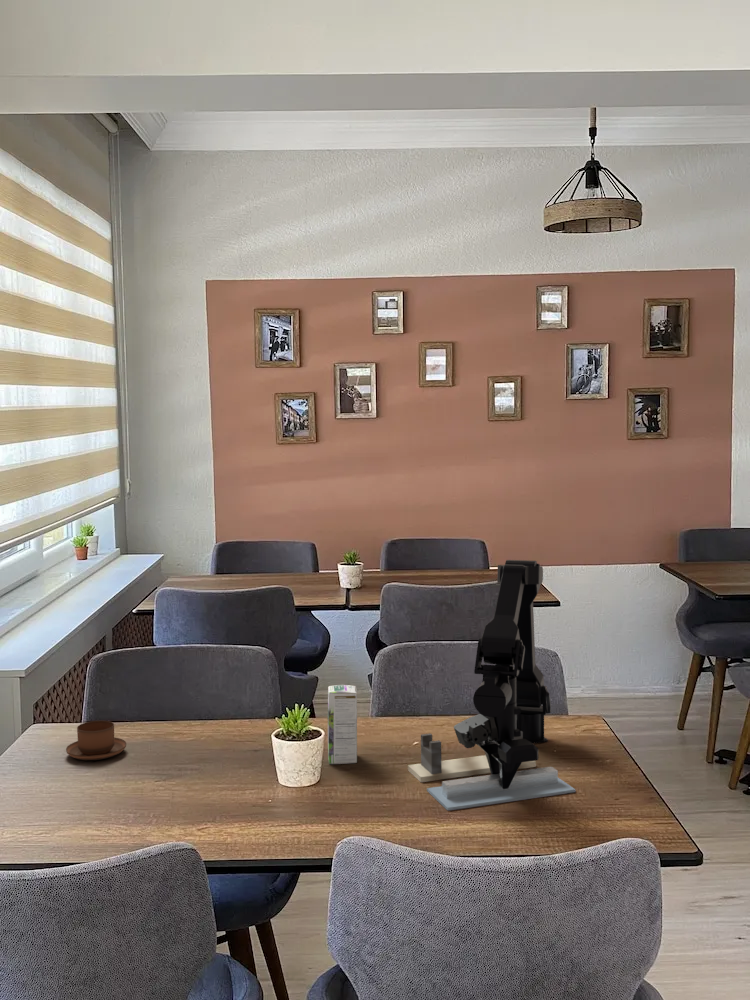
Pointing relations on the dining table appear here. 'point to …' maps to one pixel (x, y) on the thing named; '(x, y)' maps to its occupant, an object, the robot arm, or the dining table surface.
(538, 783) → the rail
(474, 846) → the dining table surface
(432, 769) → the rail stand
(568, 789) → the mat
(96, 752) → the cup and saucer
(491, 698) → the robot arm
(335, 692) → the syrup box
